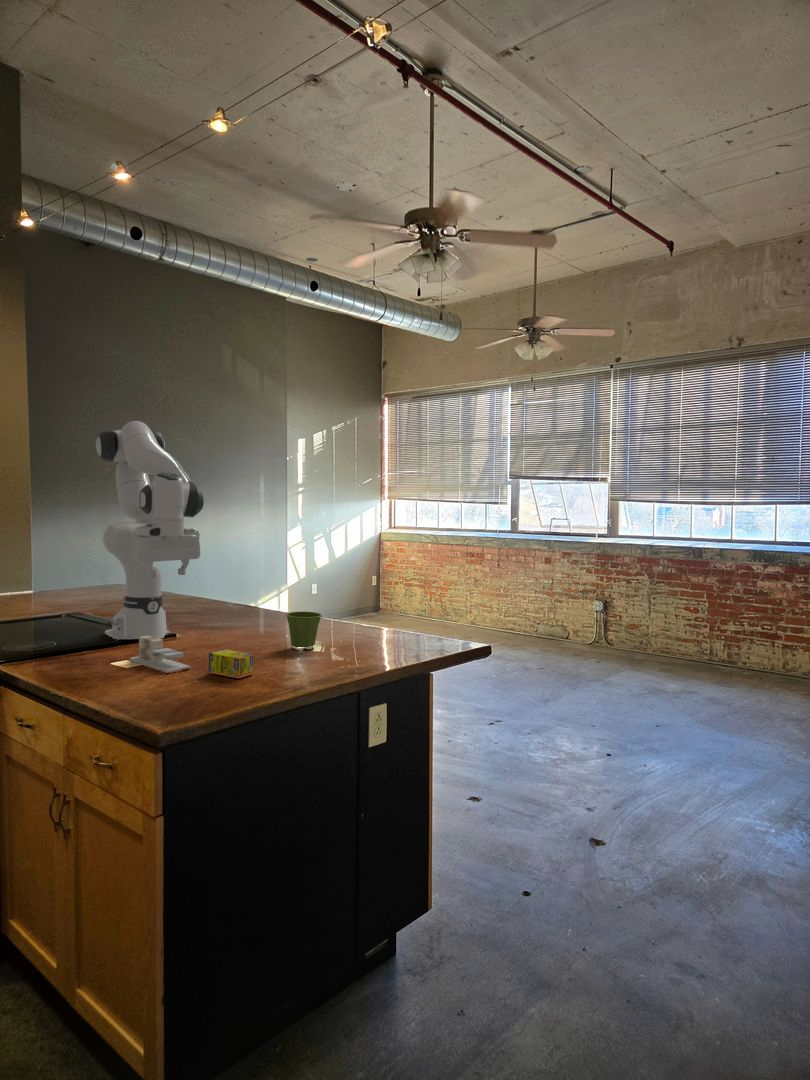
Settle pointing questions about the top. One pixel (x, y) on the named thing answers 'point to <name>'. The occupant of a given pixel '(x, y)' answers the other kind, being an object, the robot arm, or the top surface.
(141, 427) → the robot arm
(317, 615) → the plant pot
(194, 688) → the top surface
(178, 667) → the rest mat
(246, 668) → the supplement box
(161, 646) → the grey elongated block
